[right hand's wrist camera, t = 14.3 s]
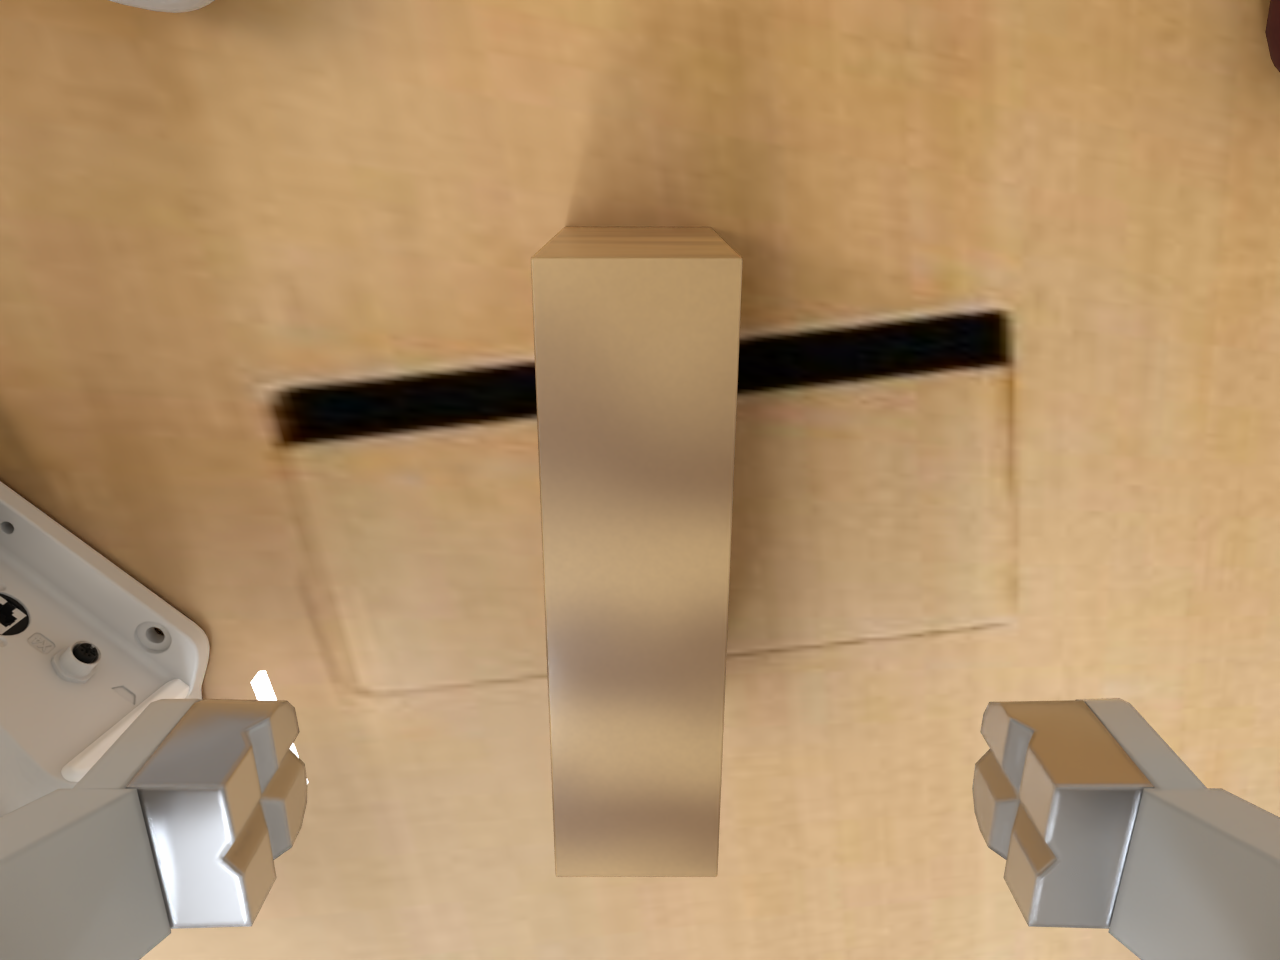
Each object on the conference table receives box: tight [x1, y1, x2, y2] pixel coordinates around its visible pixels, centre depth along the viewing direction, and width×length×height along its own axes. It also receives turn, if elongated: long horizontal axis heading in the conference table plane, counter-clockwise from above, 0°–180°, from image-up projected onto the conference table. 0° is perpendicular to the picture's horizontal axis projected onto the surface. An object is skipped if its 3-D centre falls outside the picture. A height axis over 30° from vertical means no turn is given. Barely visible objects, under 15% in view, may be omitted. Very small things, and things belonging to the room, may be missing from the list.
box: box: [531, 227, 743, 877], centre depth 34 cm, size 22×6×12 cm, turn 0°
